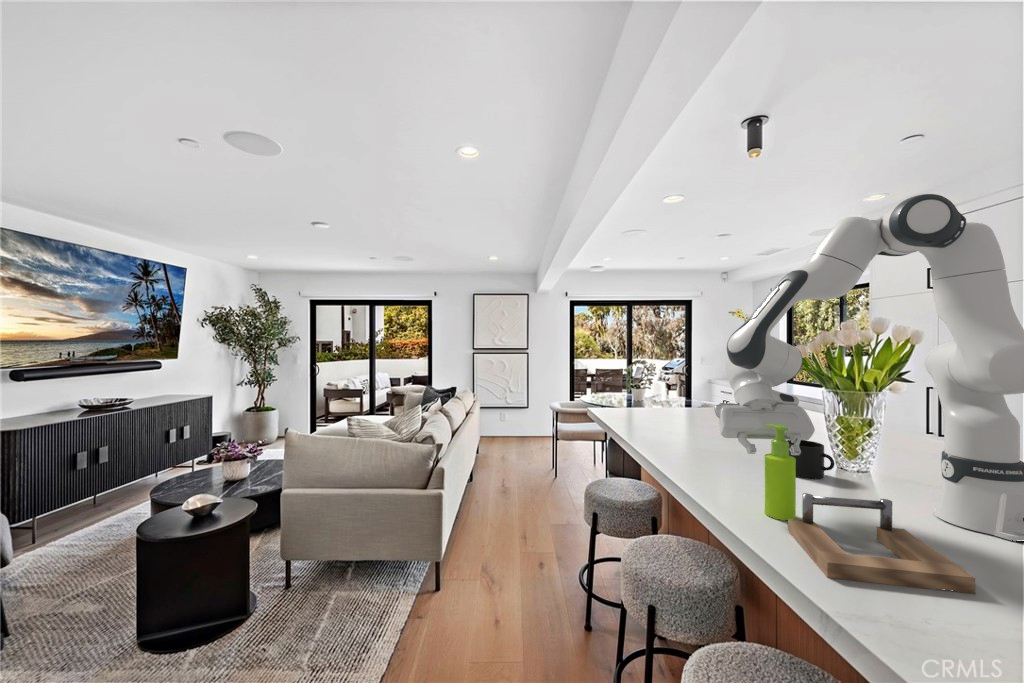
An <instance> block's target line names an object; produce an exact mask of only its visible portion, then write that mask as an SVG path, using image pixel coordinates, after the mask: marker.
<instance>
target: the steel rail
mask: <svg viewBox="0 0 1024 683" xmlns="http://www.w3.org/2000/svg"><path fill="white" fill-rule="evenodd" d="M814 505H815V506H816V505H817V506H826V507H827V506H829V507H840V508H841V507H842V508H853V509H854V508H855V509H856V508H858V509H869V510H870V509H871V510H879V527H880V528H881V529H883V530H887V531H892V528H893V500H892V499H891V500H890V499H886V498H880V500H874V499H873V500H872V499H855V498H845V497H834V496H833V497H831V496H830V497H829V496H817V495H814V494H811V493H806V492H805V493H802V506H801V507H802V510H801V511H802V512H801V513H802V519H801V520H802V521H803V522H804V523H807V524H813V522H814Z"/></svg>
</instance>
